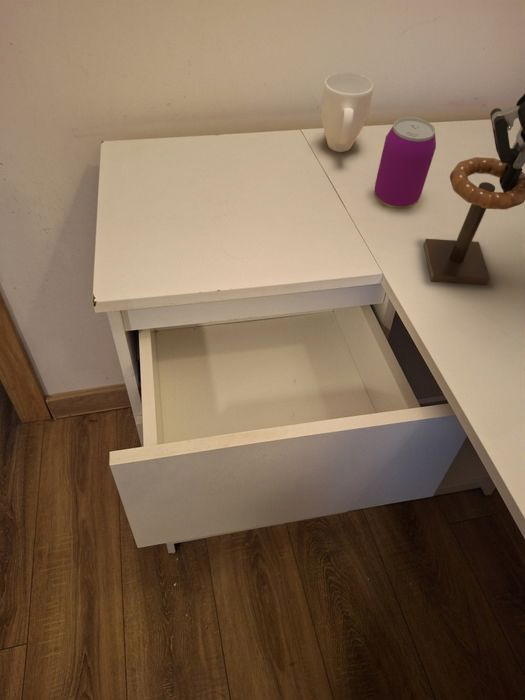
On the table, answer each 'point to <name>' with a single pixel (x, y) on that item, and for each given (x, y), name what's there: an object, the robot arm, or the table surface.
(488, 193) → the ring
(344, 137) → the mug
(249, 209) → the table surface
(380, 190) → the beverage can
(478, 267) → the peg stand
